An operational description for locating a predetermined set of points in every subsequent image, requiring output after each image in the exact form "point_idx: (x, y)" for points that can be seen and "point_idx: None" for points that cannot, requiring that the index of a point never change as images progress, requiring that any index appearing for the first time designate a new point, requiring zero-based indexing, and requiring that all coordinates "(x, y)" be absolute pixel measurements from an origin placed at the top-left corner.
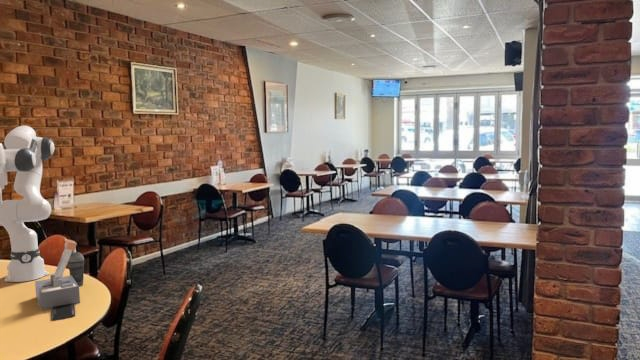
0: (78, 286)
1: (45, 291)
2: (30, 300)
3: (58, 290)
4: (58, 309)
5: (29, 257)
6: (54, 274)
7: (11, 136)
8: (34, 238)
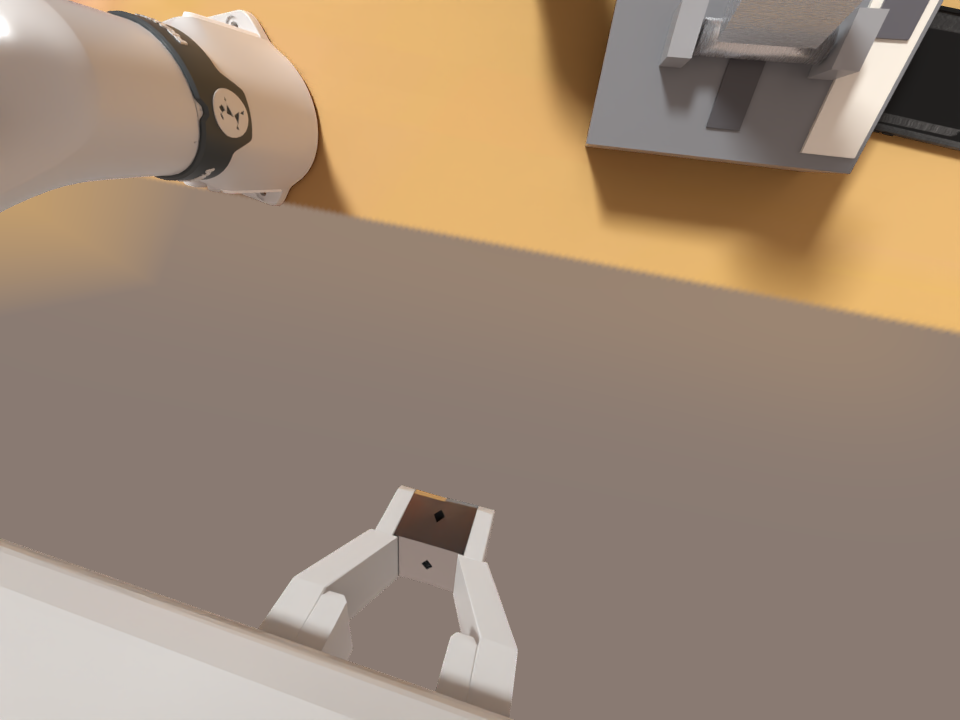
0: None
1: (863, 140)
2: (606, 175)
3: (906, 65)
4: (907, 102)
5: (226, 96)
6: (728, 33)
7: None
8: (77, 19)
